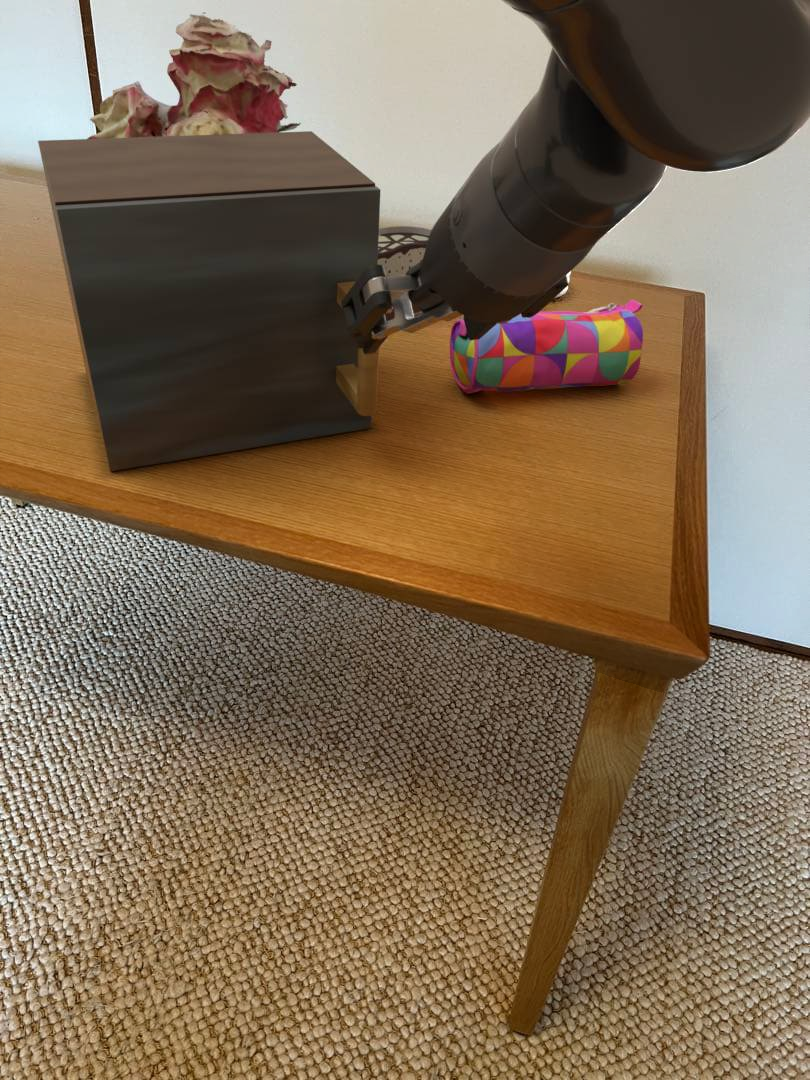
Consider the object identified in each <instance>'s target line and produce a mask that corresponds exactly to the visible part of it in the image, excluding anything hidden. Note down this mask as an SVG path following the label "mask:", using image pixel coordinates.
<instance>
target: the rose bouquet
mask: <svg viewBox="0 0 810 1080" xmlns="http://www.w3.org/2000/svg"><path fill="white" fill-rule="evenodd" d="M205 14H206V12H205V11H204V12H201V15H198V14H192V13H190V14H189V17H188V18H187V19H186V20H185V21H184V22H182V23H180V24H178V25H177V26H176V28H175V33H176V34H177V35H179V36H180V37H181V38H182V40H183V41H182V43H181V45H180V47H179V48H174V49H169V50H168V53H169V55H170V57H171V58H172V62H170V63H168V65H167V67H166V73H167V76H168V77H169V79H170V80H171V82H172V83H173V85H174V86H175V88H176V90H177V92H178V94H179V97H178V101H177V104H176V105H170V104H166V103H163V102H161V101H158V100H156V99H154V98H153V97H152V96H151V95H149V93H146V91H145V90H144V89H143V87H142V85H141V83H140V81H134V82H133V83H130V84H127V85H123V86H121V87H119V88H115V89H113V90H112V95H110V96H108V97H106V98H105V99H104V100H103V101H101V103H100V105H99V113H97V114H96V115H93V116H92V117H91V118H89V120H90V121H91V122H92V123H93V124H94V125H95V127H97V129H98V130H99V131H100V132H97V133H95V134H92V135H90V136H89V137H87V138H86V139H103V138H132V137H161V136H190V135H219V134H248V133H277V132H289V131H293V130H295V129H296V128H298V127H299V126H300V125H301V124H302V123H301V122H299V123H297V122H293V123H292V122H291V123H288V124H287V125H286V124H284V125H282V122H281V121H283V120H285V119H288V117H289V116H288V115H287V110H288V109H287V108H288V106H289V105H288V104H286V103H285V102H284V101H283V100H282V99H280V98H281V96H282V95H283V93H284V92H285V90H290V89H291V88H292V87H293V88H294V87H296V86H297V85H298V84H297V83H296V82H293V79H292V78H291V77H290V76H288V75H287V74H285V72H282V73H281V72H280V71H278V70H276V69H274V67H272V66H271V65H266V64H265V62H266V59H265V58H266V52H269V50H271V48H272V41H271V40H269V39H265V41H264V42H263V44H261V45H259V44H258V43H257V41H255V39H253V36H252V35H250V34H249V33H247V32H242V31H241V30H239V28H237V26H236V25H235V24H231V23H229V22H227V21H225V20H223V19H220V18H218V19H216V18H215V19H211V17H209V16H206V15H205Z"/></svg>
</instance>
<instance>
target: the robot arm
mask: <svg viewBox="0 0 810 1080" xmlns="http://www.w3.org/2000/svg"><path fill="white" fill-rule="evenodd" d="M501 2H503V3H504V4H505V5H507V6H509V7H510V8H512V9H513V10H514V11H517V12H518V13H519V14H521V15H522V16H524V17H525V18H528V19H529V20H531V21H532V22H533V23H534V24H535V25H536V26H537V27H538V28H539V30H540V31H541V33H542V34H543V36H544V37H545V38H546V40H547V42H548V43H549V44H550V46H551V50H550V53H549V56H548V60H547V63H546V67H545V70H544V74H543V76H542V79H541V82H540V85H539V88H538V90H537V92H536V93H534V95H533V96H532V97H531V99H530V100H529V101H528V103H527V104H526V106H524V109H523V110H522V111H521V113H519V115H518V116H517V118H516V119H515V120H514V121H513V123H512V125H511V126H510V127H509V129H508V130H507V132H506V133H505V134H504V135H503V137H502V138H501V139H500V141H499V142H498V143H497V144H495V145H494V147H492V148H491V149H490V150H489V151H488V152H487V153H486V154H485V155H484V156H483V157H482V159H480V161H479V162H478V163H477V165H476V166H475V167H474V168H473V170H472V172H471V173H470V174H469V176H468V177H467V179H466V180H465V181H464V182H463V184H462V185H461V187H460V188H459V190H458V191H457V192H456V193H455V195H454V196H453V198H452V199H451V201H450V202H449V204H448V205H447V206H446V208H445V209H444V211H443V212H442V213H441V214H440V216H439V217H438V219H437V220H436V222H435V223H434V225H433V226H432V228H431V233H430V235H429V238H428V242H427V245H426V249H425V253H424V257H423V260H422V261H421V262H419V263H418V264H416V265H415V266H413V267H411V268H410V269H409V270H408V271H407V272H406V274H404V275H402V276H394V277H386V275H385V270H384V266H383V265H380V264H378V265H372V266H369V267H367V268H366V269H365V270H364V271H363V273H362V274H361V275H360V277H359V278H358V280H357V281H356V282H355V284H354V285H353V286H352V288H351V289H350V290H349V292H348V293H347V294H346V296H345V297H344V299H343V300H342V301H341V304H342V309H343V313H344V317H345V321H346V326H347V330H348V334H349V338H350V339H356V341H357V345H358V348H359V349H361V348H362V349H363V352H364V354H370V353H375V352H376V351H377V349H378V348H379V349H380V348H381V346H382V345H383V343H384V342H385V341H386V340H387V339H388V338H389V336H391V335H393V334H396V333H398V332H400V331H402V332H407V333H412V334H413V333H416V332H418V331H420V330H422V329H425V328H428V327H429V326H432V325H434V324H436V323H438V322H441V321H445V322H451V321H452V320H455V319H458V318H460V317H461V316H463V317H464V322H465V327H466V331H467V335H468V338H469V340H477V339H480V338H481V337H483V336H484V335H485V334H486V333H487V332H488V331H489V330H490V329H492V328H493V327H494V326H495V325H496V324H504V323H507V322H508V321H510V320H512V318H514V317H516V316H518V315H520V314H521V315H522V317H523V318H526V317H527V318H530V317H533V316H534V315H536V314H537V313H538V312H542V310H544V308H545V307H546V306H548V305H549V304H550V303H551V302H552V301H553V300H554V298H555V297H556V296H557V295H558V294H559V293H560V292H561V291H563V290H564V289H565V288H566V287H567V286H568V287H569V283H568V281H567V277H566V275H567V274H568V273H569V272H570V271H571V272H572V271H573V270H574V269H575V268H576V267H578V265H579V264H581V262H582V261H584V260H585V258H586V257H587V256H588V255H589V253H590V252H591V251H592V249H593V248H594V247H595V245H596V244H597V243H598V242H599V241H600V240H601V239H602V238H604V237H605V236H606V235H607V234H608V233H609V232H611V231H612V230H613V229H614V228H615V227H616V226H617V225H619V224H620V223H621V222H622V221H623V220H624V219H625V218H626V217H628V216H629V215H630V214H632V212H633V211H635V210H636V209H638V207H639V206H640V205H642V203H643V202H645V200H646V199H647V198H649V196H650V195H651V194H652V193H653V192H654V190H655V189H656V188H657V187H658V185H660V182H661V181H662V179H663V176H664V175H665V174H664V173H665V172H666V170H667V167H668V168H671V169H673V170H678V171H683V172H691V173H718V172H725V171H731V170H734V169H739V168H742V167H744V166H748V165H751V164H753V163H755V162H758V161H759V160H760V161H761V160H762V159H764V158H765V157H767V156H769V155H771V154H772V153H774V152H775V151H776V150H778V149H779V148H781V147H783V145H784V144H786V143H787V142H788V141H789V140H790V139H792V138H793V137H794V136H795V135H796V134H797V133H798V132H799V131H800V130H801V129H802V128H803V126H804V125H805V124H806V123H807V122H808V120H809V119H810V0H501ZM555 299H556V298H555ZM411 302H412V303H413V304H414V305H415V306H416V307H417V308H418V309H419V310H420V311H422V312H423V313H421V314H417V315H414V314H413V310H412V306H411ZM392 305H393V309H392ZM393 310H394V314H395V316H394V319H393V320H391V321H389V322H386V318H385V313H391V312H392V311H393Z"/></svg>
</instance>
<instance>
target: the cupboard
mask: <svg viewBox="0 0 810 1080" xmlns="http://www.w3.org/2000/svg"><path fill="white" fill-rule="evenodd" d="M37 144H38V149H39V152H40V158H41V163H42V166H43V173H44V177H45V182H46V187H47V192H48V195H49V201H50V207H51V210H52V215H53V221H54V225H55V229H56V230H55V231H56V236H57V240H58V243H59V248H60V253H61V258H62V263H63V267H64V273H65V277H66V278H65V279H66V282H67V287H68V292H69V296H70V297H69V298H70V302H71V307H72V311H73V316H74V321H75V326H76V330H77V335H78V336H77V337H78V341H79V346H80V350H81V355H82V359H83V364H84V369H85V375H86V378H87V383H88V387H89V391H90V395H91V398H92V399H91V400H92V403H93V407H94V411H95V416H96V420H97V423H98V428H99V432H100V435H101V440H102V444H103V448H104V453H105V457H106V458H107V455H106V450H105V445H104V440H103V435H102V431H101V426H100V421H99V416H98V411H97V406H96V401H95V396H94V392H93V387H92V382H91V377H90V372H89V367H88V362H87V357H86V352H85V348H84V343H83V338H82V333H81V328H80V323H79V318H78V313H77V309H76V304H75V299H74V294H73V289H72V284H71V279H70V274H69V269H68V265H67V260H66V255H65V250H64V245H63V240H62V235H61V230H60V226H59V221H58V216H57V211H56V205H73V204H89V203H106V202H123V201H139V200H156V199H173V198H189V197H206V196H223V195H240V194H256V193H273V192H290V191H306V190H323V189H340V188H356V187H373V186H376V183H375V181H373V180H372V179H370V178H369V177H368V176H367V175H366V174H364V173H363V171H361V170H360V169H359V168H357V167H356V166H355V165H354V164H352V163H351V162H350V161H349V160H347V159H346V158H345V157H344V156H343V155H342V154H340V153H339V152H338V151H336V150H335V149H334V148H332V146H330V145H329V144H328V143H327V142H325V140H323V139H322V138H321V137H320V136H318V135H317V134H316V133H314V131H311V130H307V131H282V132H277V133H248V134H219V135H190V136H161V137H132V138H103V139H87V138H79V139H76V138H75V139H50V140H49V139H48V140H38V141H37ZM106 461H107V462H108V460H107V459H106Z"/></svg>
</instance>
